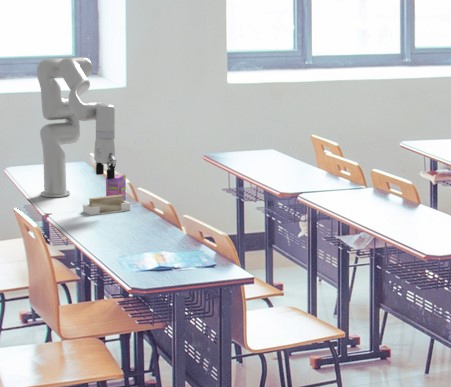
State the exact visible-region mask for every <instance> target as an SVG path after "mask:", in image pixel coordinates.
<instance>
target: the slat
mask: <svg viewBox="0 0 451 387" xmlns="http://www.w3.org/2000/svg"><path fill="white" fill-rule="evenodd" d="M88 201H89V203H88V204H89V206H90V207H96V206H99V207H100V213H104V212H112V211H120V210H121V203H124V196H123V195H113V196H106V195H105V196H98V197H89V198H88Z"/></svg>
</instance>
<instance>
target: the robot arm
mask: <svg viewBox="0 0 451 387" xmlns="http://www.w3.org/2000/svg"><path fill="white" fill-rule="evenodd" d="M93 71H94V68H93V63H92V62H91V60H90V59H89V58H87V57H84V56H78V57H59V58H58V57H54V58H46V59H43V60H41V61H39V63H38V65H37V66H36V77H37V80H38V83H39V88H40V96H41V111H42V116H43V118H44V119H45V120H47V121H60V120H64V122H53V123H47V124H45V125H43V126H42V127H41V129H40V131H39V136H40V139H41V140H40V141H41V146H42V153H43V154H42V155H43V156H42V159H43V184H44V185H43V189H44V190H43V191H42V192H40V196H41V197H44V198H64V197H68V196H70V194H71V192H70V191H69V190H67V169H66V165H67V164H66V154H65V151H64V150H63V149H62V147H61V146H62V145H71V144H75V143H76V144H77V142H78V141H79V140H80V137H81V126H80V121H81V122H89V121H90V122H91V121H95V141H94V152H93V153H94V154H93V155H94V156H93V158H94V161H95V174H96V175H97V176H98V175H99V176H100V175H104V174H105V173H104V168H105V165H106V167H107V169H106V177H107V179H114V178H115V173H116V170H115V169H116V166H117V159H116V150H115V148H116V147H115V138H116V137H115V135H116V134H115V131H116V130H115V128H116V127H115V124H116V123H115V122H116V121H115V111H116V109H115V106H114V105H113V104H110V103H106V102H105V101H86V102H85V101H84V102H82V101H81V99H80V97H81V96H82V95H84V94H85V93H86V92H87V91H88V90H89V89H90V86H91V83H90V80H89V79H88V77H90V76H91V75H92V74H93ZM56 79H63V80H64V82H65V83H66V85H67V86H68V88H69V90H70V91H69V94H68V97H62V89H61V86H60V84H59V82H58V81H57V80H56Z"/></svg>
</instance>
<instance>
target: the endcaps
mask: <svg viewBox="0 0 451 387" xmlns="http://www.w3.org/2000/svg"><path fill="white" fill-rule="evenodd" d="M125 211H131V202H129V201H127V200H125V201H124V203H121V210H118V211H110V212H102V213H100V207H99V206H96V207H90V206H89V203H86V204H82V212H83V213H85V214H87V215H90V216H93V215H106V214H113V213H124V212H125Z"/></svg>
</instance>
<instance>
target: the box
mask: <svg viewBox="0 0 451 387" xmlns="http://www.w3.org/2000/svg"><path fill="white" fill-rule="evenodd" d="M126 176H127V174H126V173H118V172H115V178H114V179H107V176H106V178H105V196H113V195H123V196H124V201H127V200H126V198H127V197H126V193H127V191H126V185H127V184H126V178H127V177H126Z"/></svg>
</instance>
